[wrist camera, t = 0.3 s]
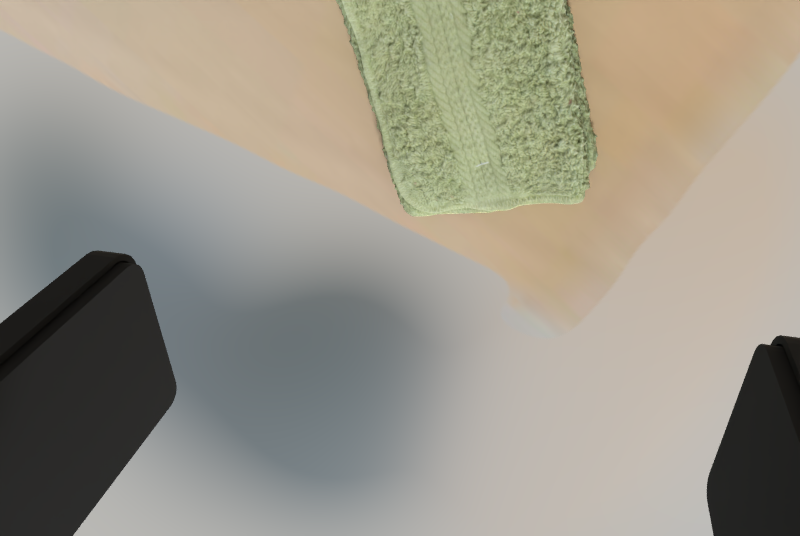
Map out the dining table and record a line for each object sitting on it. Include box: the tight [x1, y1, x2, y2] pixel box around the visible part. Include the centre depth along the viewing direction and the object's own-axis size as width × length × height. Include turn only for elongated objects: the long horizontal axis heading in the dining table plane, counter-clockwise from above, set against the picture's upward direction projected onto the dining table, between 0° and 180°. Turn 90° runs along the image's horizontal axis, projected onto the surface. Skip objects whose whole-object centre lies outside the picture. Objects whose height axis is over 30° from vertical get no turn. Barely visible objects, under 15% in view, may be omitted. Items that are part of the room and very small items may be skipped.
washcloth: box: [336, 0, 598, 216], centre depth 37 cm, size 13×18×3 cm
